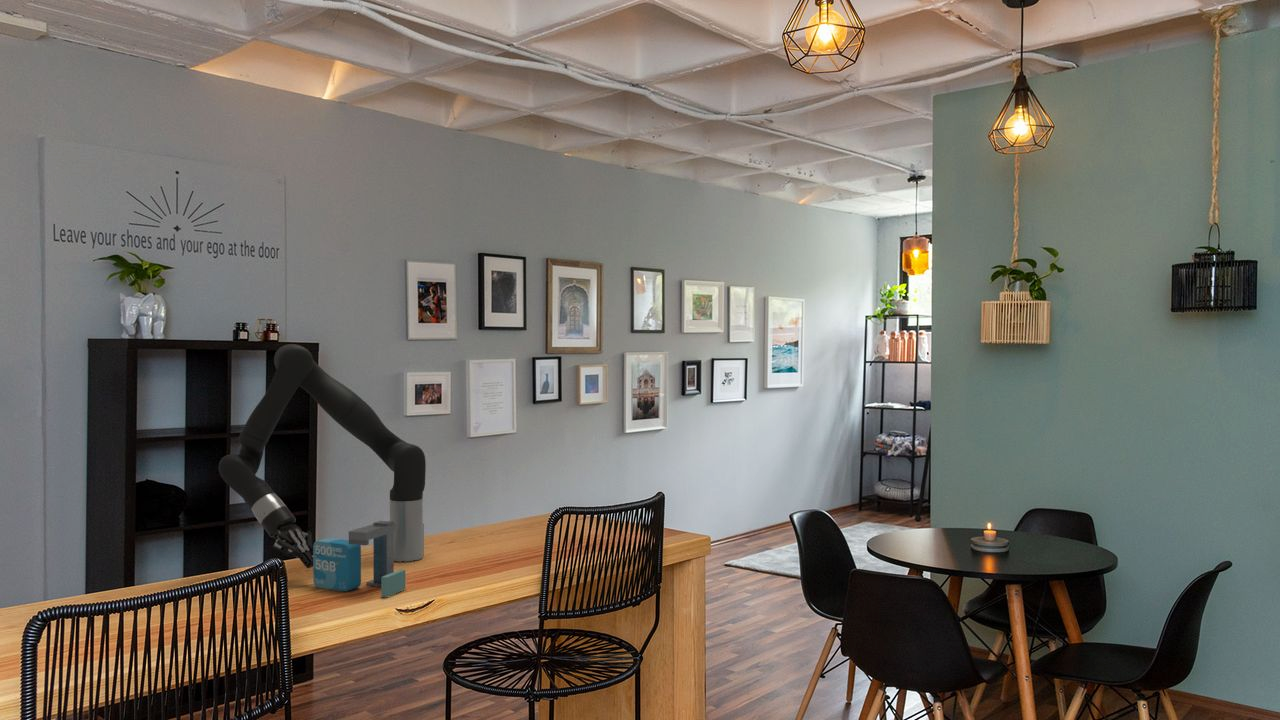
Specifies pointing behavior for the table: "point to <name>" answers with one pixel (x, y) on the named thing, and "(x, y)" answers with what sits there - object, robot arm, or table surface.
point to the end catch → (392, 583)
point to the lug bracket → (377, 547)
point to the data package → (336, 564)
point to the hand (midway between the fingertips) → (312, 565)
